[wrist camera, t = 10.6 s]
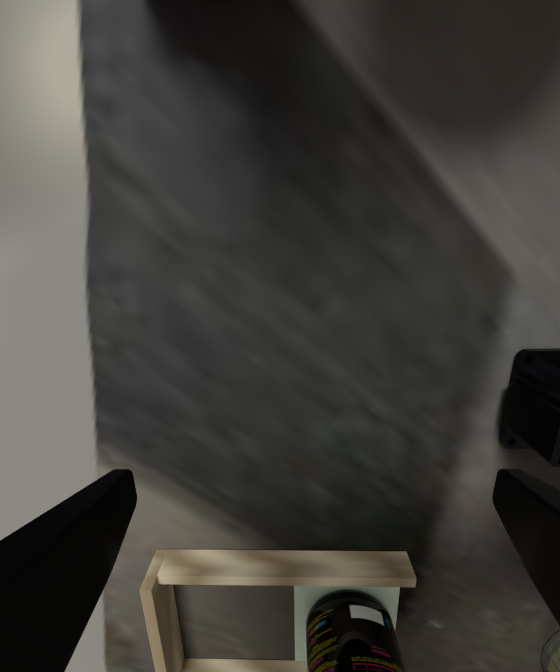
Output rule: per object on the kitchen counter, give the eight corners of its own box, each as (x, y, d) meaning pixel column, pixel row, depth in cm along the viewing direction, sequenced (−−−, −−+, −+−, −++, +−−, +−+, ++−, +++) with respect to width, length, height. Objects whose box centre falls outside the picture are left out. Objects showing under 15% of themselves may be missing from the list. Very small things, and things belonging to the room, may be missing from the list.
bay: (176, 664, 28) (163, 712, 26) (156, 549, 25) (139, 590, 22) (392, 668, 28) (404, 718, 25) (406, 551, 24) (422, 594, 21)
